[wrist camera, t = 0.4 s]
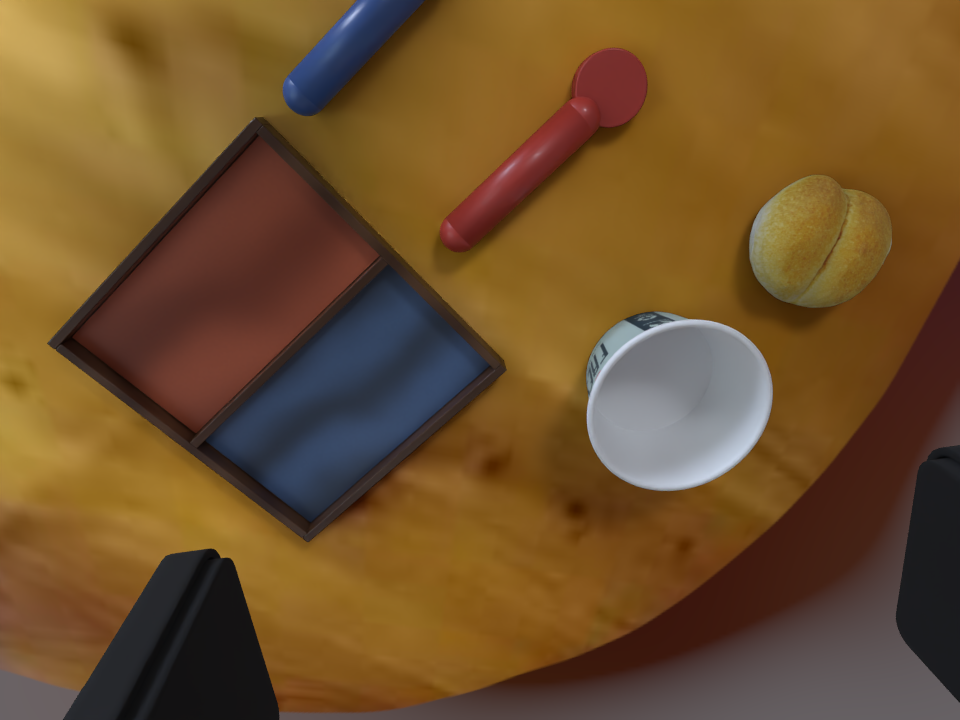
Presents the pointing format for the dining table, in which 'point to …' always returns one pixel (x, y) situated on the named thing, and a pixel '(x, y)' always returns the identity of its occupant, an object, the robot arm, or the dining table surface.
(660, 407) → the food container
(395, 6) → the blue spoon
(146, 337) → the sorting tray
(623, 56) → the red spoon
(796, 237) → the bread roll
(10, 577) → the dining table surface
